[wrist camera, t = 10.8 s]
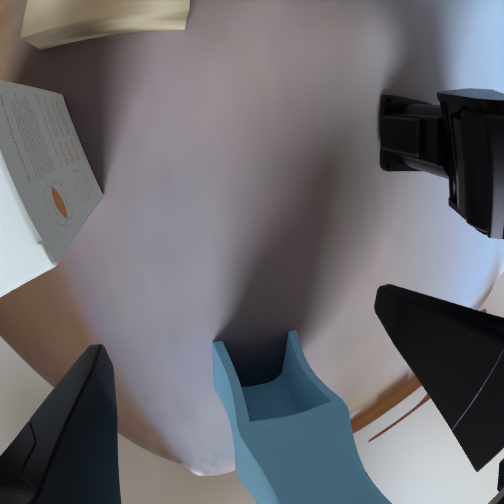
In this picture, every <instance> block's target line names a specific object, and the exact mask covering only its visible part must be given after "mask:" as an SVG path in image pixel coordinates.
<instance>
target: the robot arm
mask: <svg viewBox="0 0 504 504" xmlns="http://www.w3.org/2000/svg"><path fill="white" fill-rule="evenodd" d="M437 97H438V100H439V101H440V105H432V104H430V103H426V102H422V101H417V100H413V99H408V98H403V97H398V96H392V95H383V96H382V98H381V168H382V169H383V170H385V171H425V172H428V173H431V174H434V175H437V176H441V177H444V178H447V179H449V195H450V198H449V206H450V207H451V208H453V209H454V210H455V211H456V212H457V213H458V214H460V215H461V216H462V217H463V218H464V219H465V220H466V222H467V223H468V224H469V225H471V226H472V227H474V228H475V229H476V230H478V231H479V232H481V233H482V234H484V235H487V236H488V237H489V238H498V239H504V94H503V93H500V92H497V91H494V90H488V89H470V88H469V89H459V90H451V91H443V92H437ZM387 99H388V103H387V101H386V100H387ZM386 164H387V167H386ZM374 309H375V313H376V314H377V316H378V318H379V319H380V321H381V323H382V325H383V326H384V328H385V330H386V331H387V333H388V335H389V337H390V338H391V340H392V342H393V344H394V345H395V347H396V348H397V350H398V351H399V352H400V354H401V355H402V357H403V358H404V359H405V361H406V362H407V364H408V365H409V367H410V368H411V370H412V371H413V372H414V374H415V375H416V377H417V378H418V380H419V381H420V383H421V384H422V386H423V387H424V389H425V390H426V392H427V393H428V395H429V396H430V398H431V399H432V401H433V402H434V404H435V405H436V407H437V408H438V410H439V411H440V413H441V414H442V416H443V418H444V419H445V420H446V422H447V424H448V426H449V427H450V429H451V430H452V432H453V434H454V435H455V437H456V439H457V440H458V442H459V444H460V445H461V447H462V449H463V450H464V452H465V454H466V455H467V457H468V459H469V460H470V462H471V464H472V466H473V467H474V469H475V470H476V472H478V471H480V469H482V468H483V467H484V466H485V465H486V464H487V463H488V462H490V461H491V460H492V459H493V458H494V457H495V456H496V455H497V454H498V453H499V452H500V451H501V450H502V449H503V448H504V318H503V317H499V316H495V315H491V314H488V313H484V312H481V311H478V310H474V309H471V308H468V307H465V306H461V305H458V304H455V303H451V302H448V301H445V300H441V299H438V298H435V297H431V296H428V295H425V294H421V293H418V292H415V291H411V290H408V289H405V288H401V287H398V286H395V285H391V284H386V285H383V286H380V287H379V288H378V290H377V295H376V300H375V305H374ZM117 436H118V435H117V404H116V393H115V381H114V368H113V365H112V362H111V360H110V358H109V356H108V353H107V351H106V349H105V347H104V346H103V345H102V344H96V345H90V346H89V347H88V348H87V349H86V350H85V352H84V353H83V354H82V355H81V356H80V357H79V359H78V360H77V361H76V362H75V363H74V365H73V366H72V367H71V368H70V369H69V371H68V372H67V373H66V374H65V375H64V377H63V378H62V379H61V380H60V382H59V383H58V384H57V385H56V386H55V388H54V389H53V390H52V391H51V393H50V394H49V395H48V397H47V398H46V399H45V400H44V402H43V403H42V404H41V405H40V407H39V408H38V409H37V411H36V412H35V413H34V414H33V416H32V417H31V418H30V422H29V421H28V422H27V424H26V425H25V426H24V427H23V429H22V430H21V431H20V433H19V434H18V435H17V437H16V438H15V439H14V440H13V442H12V443H11V444H10V445H9V446H8V448H7V449H6V450H5V451H4V452H3V453H2V455H1V456H0V504H121V496H120V484H119V468H118V439H117V438H118V437H117ZM497 490H498V491H499V493H498V494H497V495H496V496H495V497H494V498H493V499H492V500H491V501H490V502H489V503H488V504H504V459H503V460H502V461H501V462H500V463H499V476H498V486H497Z"/></svg>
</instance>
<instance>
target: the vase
mask: <svg viewBox="0 0 504 504" xmlns="http://www.w3.org/2000/svg"><path fill="white" fill-rule="evenodd" d="M212 346H213V368H214V386H215V390H216V393H217V394H218V396H219V398H220V400H221V402H222V404H223V406H224V408H225V410H226V412H227V415H228V418H229V421H230V424H231V429H232V433H233V440H234V449H235V462H236V472H237V475H238V478H239V480H240V481H241V482H242V484H243V485H244V486H245V487H246V489H247V490H248V491H249V492H250V494H251V495H252V497H253V498H254V499H255V501H256V503H257V504H392V503H391V502H390V501H389V500H388V499H387V498H386V497H385V496H384V495H383V494H382V493H381V492H380V490H379V489H378V488H377V487H376V486H375V484H374V483H373V482H372V480H371V479H370V477H369V476H368V474H367V472H366V471H365V469H364V467H363V465H362V462H361V460H360V458H359V455H358V452H357V449H356V445H355V442H354V437H353V432H352V428H351V422H350V416H349V410H348V407H347V406H346V404H345V403H344V401H343V400H342V399H341V398H340V397H339V396H337V395H336V394H335V393H334V392H333V391H331V390H330V389H329V388H328V387H327V386H326V385H325V384H324V383H323V382H322V381H321V380H320V379H319V378H318V377H317V376H316V375H315V373H314V372H313V370H312V369H311V368H310V366H309V364H308V362H307V360H306V358H305V356H304V353H303V351H302V348H301V345H300V341H299V338H298V334H297V330H293V331H289V333H288V339H287V345H286V352H285V358H284V364H283V370H282V373H281V375H279V376H278V377H277V378H276V379H275V380H273V381H271V382H268V383H264V384H260V385H254V386H248V387H241V385H240V382H239V379H238V376H237V374H236V371H235V369H234V366H233V364H232V361H231V359H230V357H229V355H228V352H227V350H226V348H225V346H224V343H223V341H216V342H212Z"/></svg>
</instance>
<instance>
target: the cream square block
mask: <svg viewBox="0 0 504 504" xmlns="http://www.w3.org/2000/svg"><path fill="white" fill-rule="evenodd" d="M189 7H190V0H28V2H27V6H26V10H25V15H24V20H23V25H22V30H21V36H20V39H22V40H24V41H26V42H28V43H29V44H31V45H33V46H35V47H37V48H38V49H40V50H44V49H47V48H51V47H55V46H59V45H63V44H67V43H72V42H76V41H81V40H86V39H92V38H97V37H103V36H110V35H117V34H125V33H134V32H145V31H159V30H185V26H186V21H187V17H188V13H189Z"/></svg>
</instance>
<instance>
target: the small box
mask: <svg viewBox="0 0 504 504" xmlns="http://www.w3.org/2000/svg"><path fill="white" fill-rule="evenodd" d="M102 198H103V193H102V192H101V189H100V187H99V185H98V183H97V181H96V179H95V176H94V174H93V172H92V170H91V167H90V165H89V163H88V160H87V158H86V156H85V153H84V151H83V148H82V146H81V143H80V141H79V138H78V136H77V133H76V131H75V128H74V125H73V123H72V120H71V118H70V115H69V112H68V109H67V107H66V104H65V101H64V97H63V95H62V94H60V93H56V92H52V91H48V90H44V89H40V88H35V87H31V86H26V85H22V84H17V83H12V82H7V81H2V80H0V297H2V296H4V295H5V294H7V293H9V292H10V291H12V290H14V289H16V288H17V287H19V286H21V285H23V284H24V283H26V282H28V281H30V280H32V279H33V278H35V277H37V276H39V275H41V274H42V273H44V272H46V271H48V270H50V269H52V268H54V267H55V266H56V265H57V264H58V262H59V260H60V259H61V257H62V256H63V254H64V252H65V251H66V249H67V248H68V246H69V245H70V243H71V242H72V240H73V239H74V237H75V236H76V234H77V233H78V231H79V230H80V228H81V227H82V226H83V224H84V223H85V221H86V220H87V219H88V217H89V216H90V214H91V213H92V212H93V210H94V209H95V207H96V206H97V205H98V203H99V202H100V201H101V199H102Z"/></svg>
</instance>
